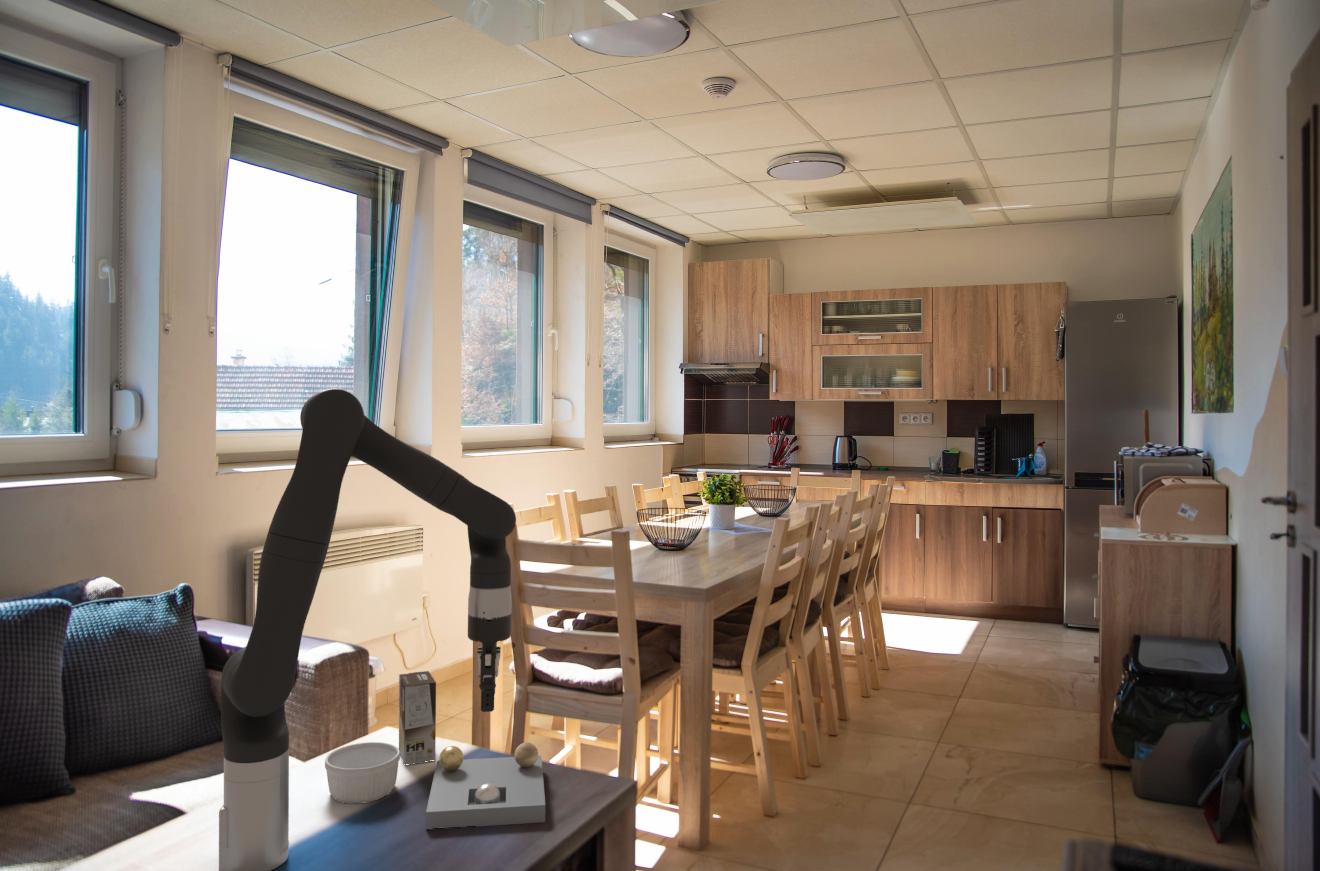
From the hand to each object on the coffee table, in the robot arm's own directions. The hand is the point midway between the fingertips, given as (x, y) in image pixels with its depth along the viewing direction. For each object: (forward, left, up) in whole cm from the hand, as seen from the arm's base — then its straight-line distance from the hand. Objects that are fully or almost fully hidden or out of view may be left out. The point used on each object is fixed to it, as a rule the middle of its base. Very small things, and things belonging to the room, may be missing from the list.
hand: (488, 702), depth 152 cm
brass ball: (-7, +12, -14) cm, 20 cm away
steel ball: (0, 0, -17) cm, 17 cm away
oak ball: (+7, +12, -14) cm, 20 cm away
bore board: (0, +6, -20) cm, 20 cm away
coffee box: (-15, +28, -20) cm, 37 cm away
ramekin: (-23, +12, -20) cm, 33 cm away
